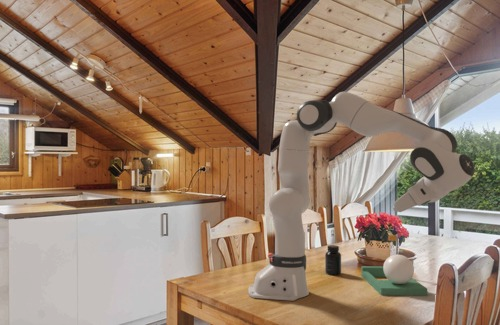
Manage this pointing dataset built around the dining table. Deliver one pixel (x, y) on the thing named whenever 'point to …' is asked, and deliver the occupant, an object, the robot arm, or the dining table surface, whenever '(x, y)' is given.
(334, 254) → the supplement bottle
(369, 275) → the putting mat
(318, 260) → the dining table surface
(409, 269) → the ball
